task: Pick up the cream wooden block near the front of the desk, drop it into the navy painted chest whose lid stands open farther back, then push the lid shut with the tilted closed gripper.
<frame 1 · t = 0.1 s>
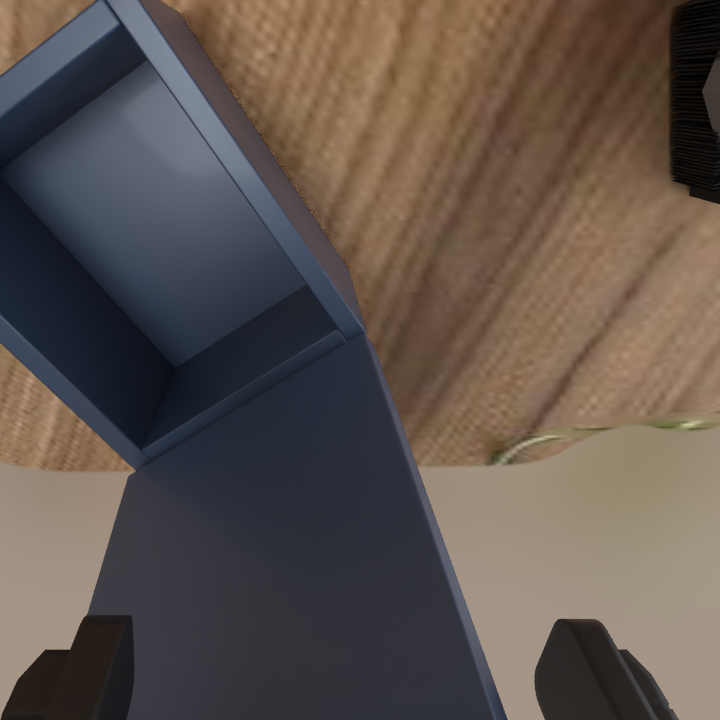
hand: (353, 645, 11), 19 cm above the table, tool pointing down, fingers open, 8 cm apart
lid: (242, 561, 15), point 15 cm above the table, hinge at 95.0°
chest: (176, 220, 25), on the table
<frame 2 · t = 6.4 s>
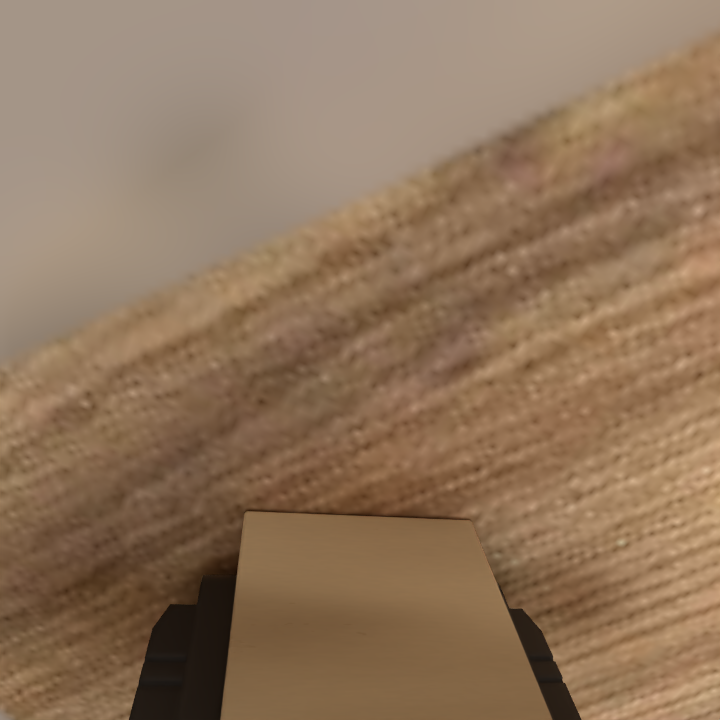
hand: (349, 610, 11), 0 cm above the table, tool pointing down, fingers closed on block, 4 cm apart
block: (346, 597, 12), on the table, touching gripper
when the fingers open (17 cm above the table, at t = 13.6 s): block drops 16 cm, resting on chest.
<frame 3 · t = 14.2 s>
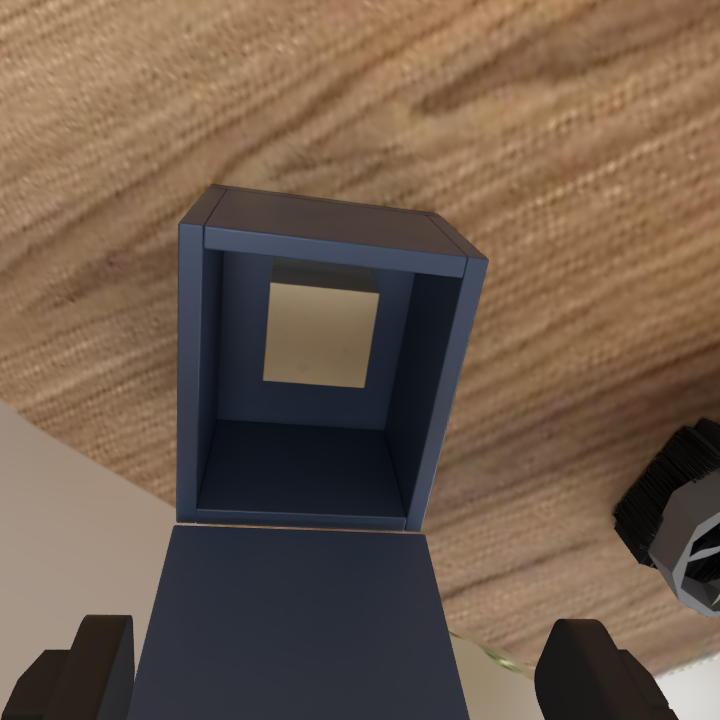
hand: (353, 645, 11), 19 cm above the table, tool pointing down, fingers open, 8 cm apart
lid: (303, 700, 18), point 15 cm above the table, hinge at 95.0°
chest: (313, 324, 29), on the table
cpu cooler: (695, 488, 37), on the table
block: (316, 301, 27), point 1 cm above the table, touching chest
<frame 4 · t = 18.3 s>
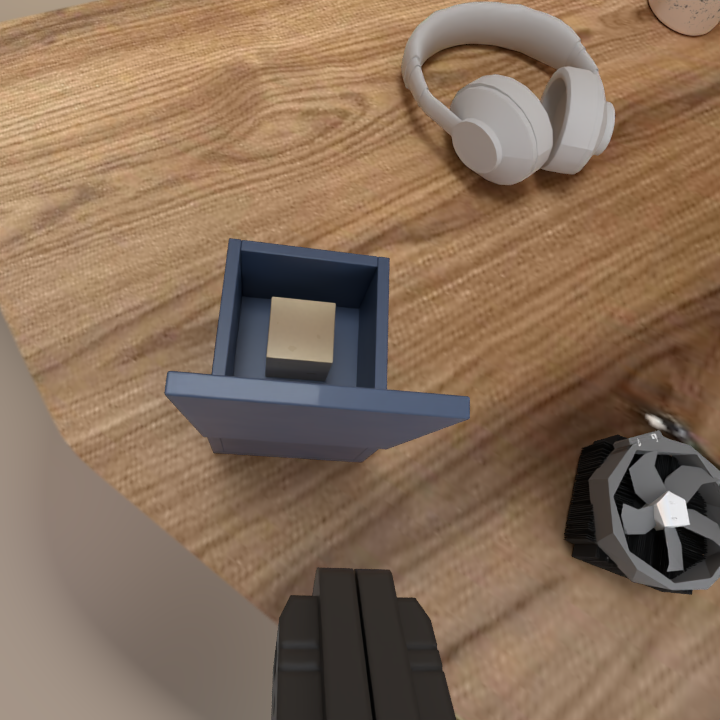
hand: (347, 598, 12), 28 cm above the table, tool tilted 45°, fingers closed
lid: (307, 420, 26), point 15 cm above the table, hinge at 95.0°
chest: (295, 373, 42), on the table
cpu cooler: (623, 514, 43), on the table
headphones: (493, 113, 54), on the table
teacup with lid: (669, 11, 64), on the table
block: (297, 350, 42), point 1 cm above the table, touching chest
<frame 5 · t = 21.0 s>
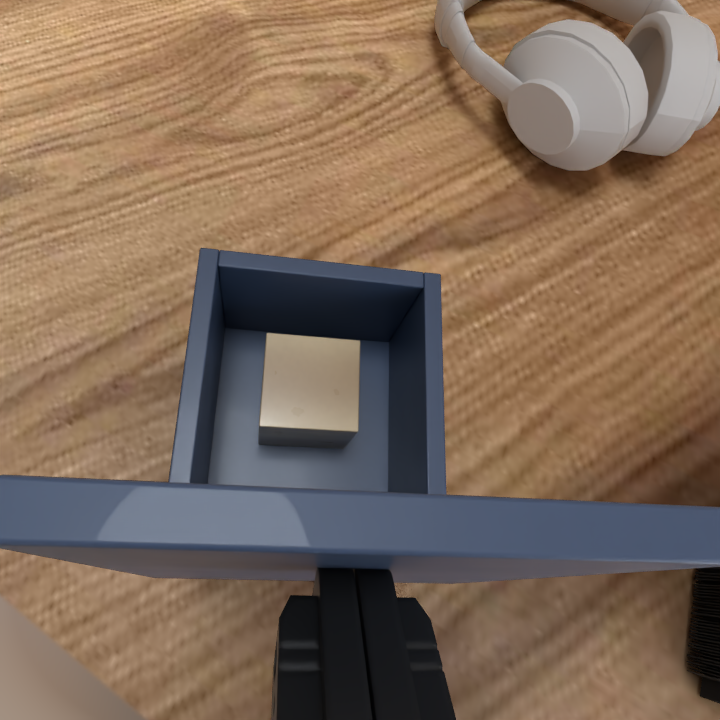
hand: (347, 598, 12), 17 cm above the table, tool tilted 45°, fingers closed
lid: (336, 555, 14), point 15 cm above the table, hinge at 86.2°, touching gripper
chest: (301, 437, 30), on the table
headphones: (551, 80, 42), on the table
block: (303, 405, 29), point 1 cm above the table, touching chest
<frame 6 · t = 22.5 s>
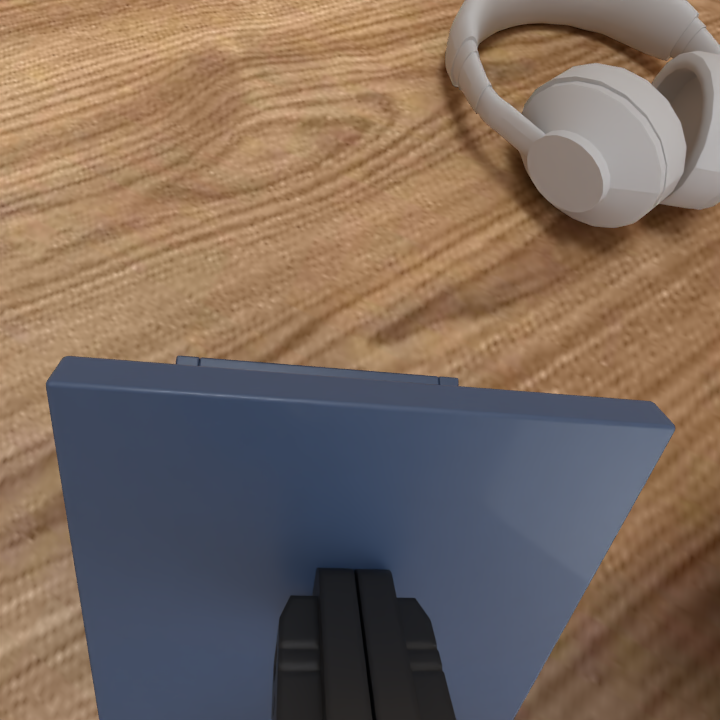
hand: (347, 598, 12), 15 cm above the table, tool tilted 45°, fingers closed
lid: (335, 631, 13), point 13 cm above the table, hinge at 50.3°, touching gripper
chest: (297, 545, 26), on the table
headphones: (572, 120, 38), on the table
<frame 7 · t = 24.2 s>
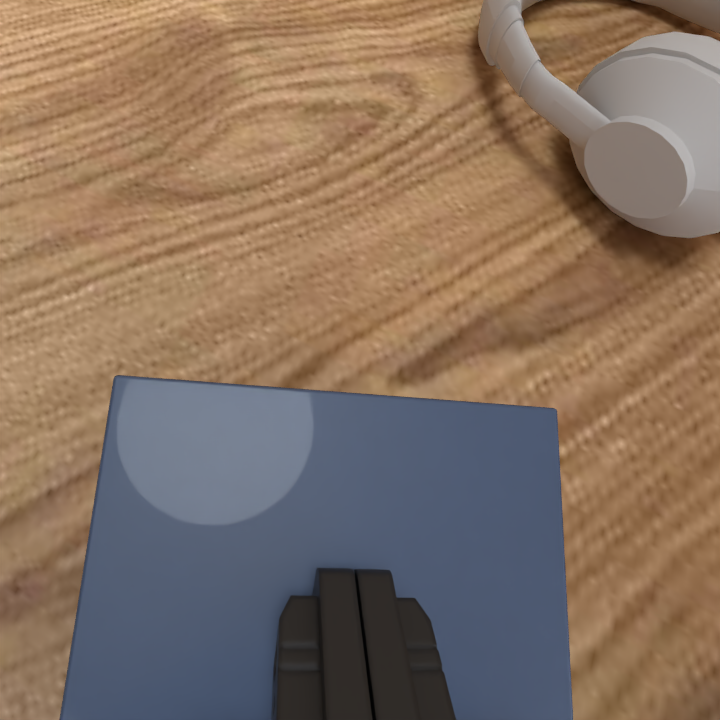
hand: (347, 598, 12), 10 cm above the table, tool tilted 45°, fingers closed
lid: (332, 708, 12), point 9 cm above the table, hinge at 4.1°
headphones: (627, 108, 32), on the table
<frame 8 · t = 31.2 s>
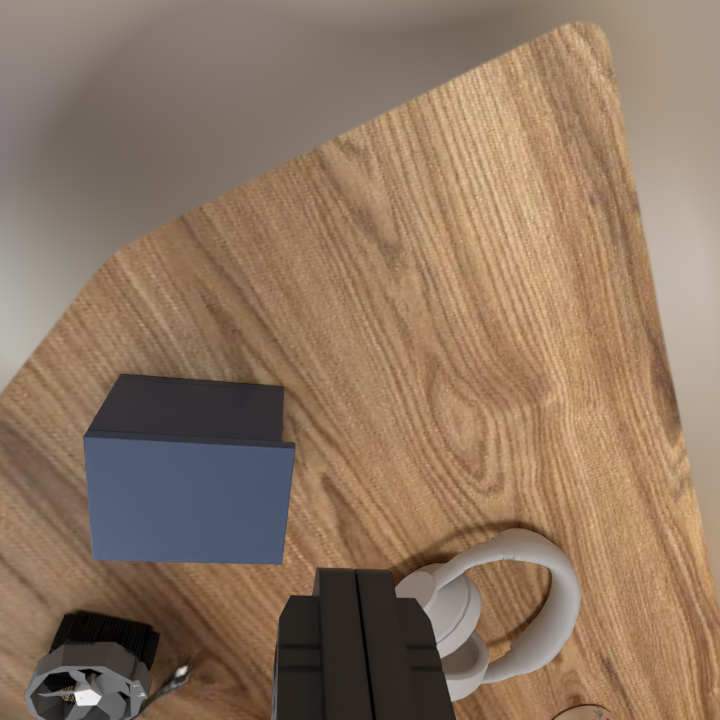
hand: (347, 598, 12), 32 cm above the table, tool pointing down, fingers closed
lid: (191, 502, 39), point 8 cm above the table, hinge at -0.2°, touching chest
chest: (202, 436, 47), on the table
cpu cooler: (104, 645, 56), on the table
headphones: (474, 588, 58), on the table
teacup with lid: (577, 717, 71), on the table
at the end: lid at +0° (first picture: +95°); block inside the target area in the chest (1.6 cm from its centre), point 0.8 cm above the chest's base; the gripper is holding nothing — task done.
